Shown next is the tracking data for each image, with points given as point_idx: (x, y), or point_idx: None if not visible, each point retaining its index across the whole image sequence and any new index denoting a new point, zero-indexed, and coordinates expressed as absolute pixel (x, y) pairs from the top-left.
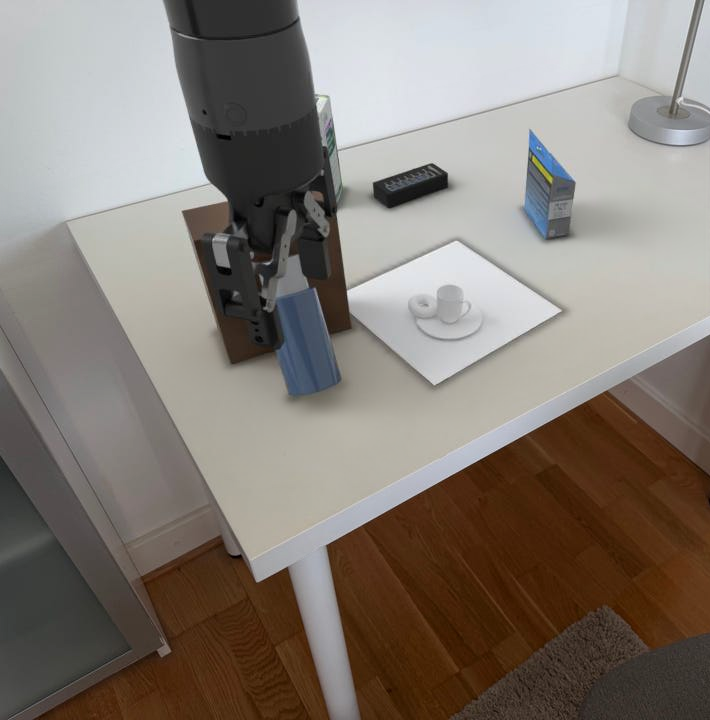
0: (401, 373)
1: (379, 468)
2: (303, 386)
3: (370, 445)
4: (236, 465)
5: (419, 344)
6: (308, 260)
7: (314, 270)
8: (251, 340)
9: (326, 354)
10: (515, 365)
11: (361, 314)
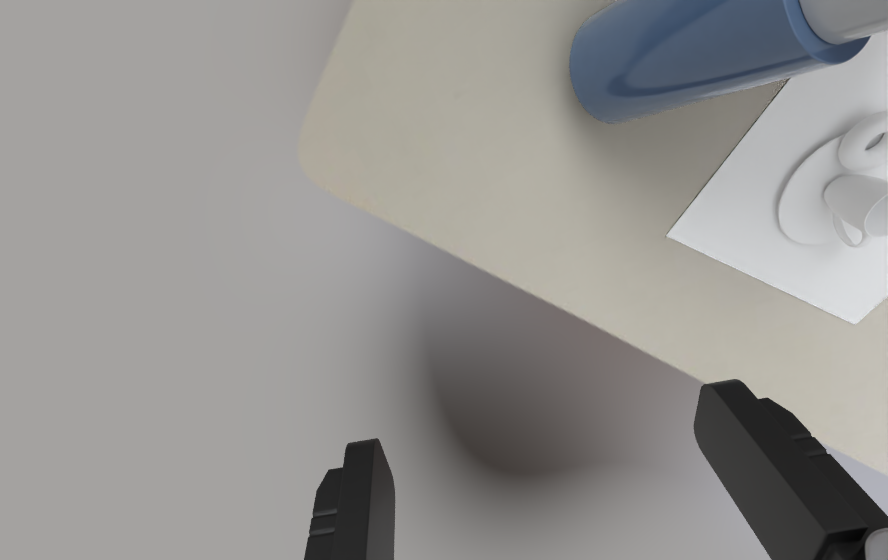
0: (685, 176)
1: (488, 241)
2: (584, 82)
3: (522, 210)
4: (399, 26)
5: (764, 170)
6: (744, 460)
7: (718, 435)
8: (317, 495)
9: (663, 109)
10: (725, 312)
11: None
